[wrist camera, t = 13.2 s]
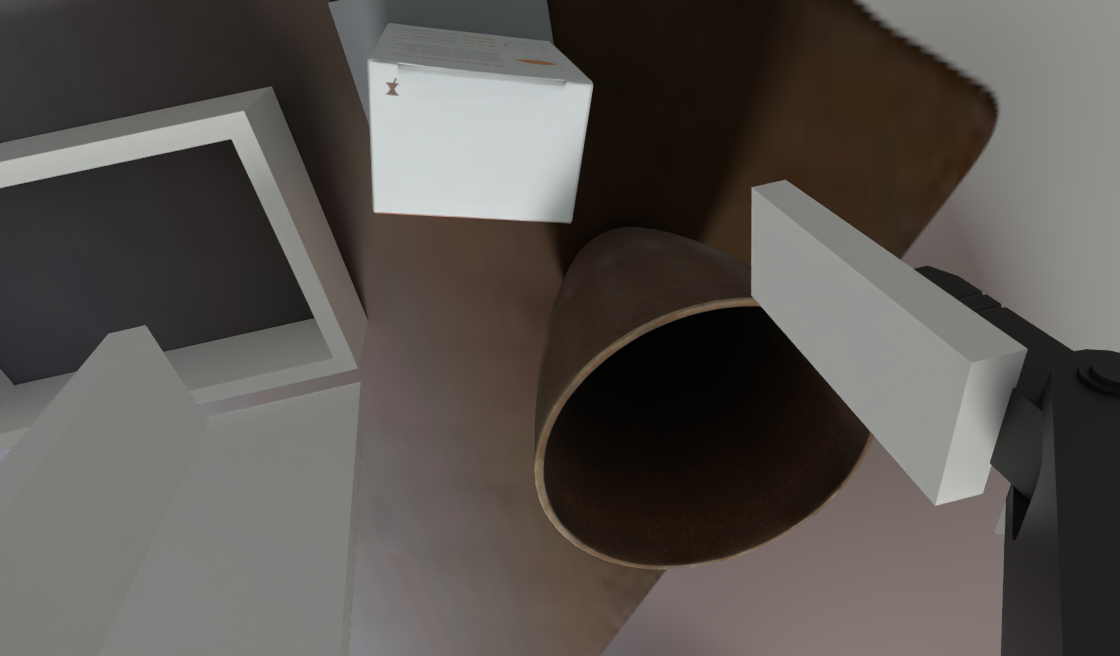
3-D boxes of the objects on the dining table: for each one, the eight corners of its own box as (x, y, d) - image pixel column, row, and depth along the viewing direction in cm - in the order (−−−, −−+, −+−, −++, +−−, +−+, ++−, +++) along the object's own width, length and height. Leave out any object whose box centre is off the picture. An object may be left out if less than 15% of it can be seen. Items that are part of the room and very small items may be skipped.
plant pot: (453, 286, 38) (456, 479, 24) (636, 105, 34) (761, 219, 20) (610, 406, 45) (679, 606, 32) (777, 270, 41) (938, 434, 27)
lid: (-46, 474, 33) (-22, 490, 34) (-253, 801, 23) (-209, 809, 24) (360, 381, 34) (370, 400, 35) (340, 657, 23) (355, 670, 25)
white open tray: (8, 401, 37) (-47, 460, 33) (-185, 181, 29) (-289, 222, 25) (368, 320, 38) (358, 368, 34) (271, 86, 30) (243, 110, 26)
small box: (388, 138, 32) (366, 215, 23) (386, 18, 29) (360, 56, 20) (540, 151, 34) (574, 229, 25) (553, 39, 31) (596, 82, 22)
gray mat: (396, 201, 34) (395, 204, 34) (329, 2, 29) (327, 2, 28) (571, 163, 35) (573, 166, 34) (539, -42, 29) (540, -41, 29)
